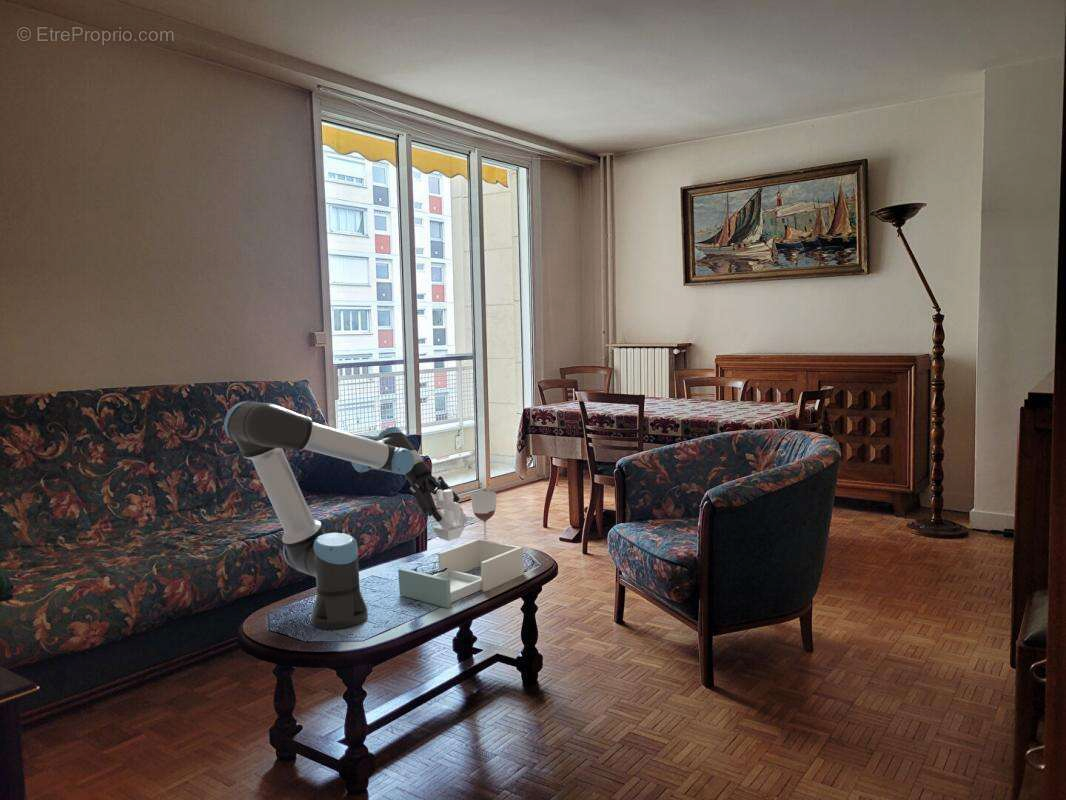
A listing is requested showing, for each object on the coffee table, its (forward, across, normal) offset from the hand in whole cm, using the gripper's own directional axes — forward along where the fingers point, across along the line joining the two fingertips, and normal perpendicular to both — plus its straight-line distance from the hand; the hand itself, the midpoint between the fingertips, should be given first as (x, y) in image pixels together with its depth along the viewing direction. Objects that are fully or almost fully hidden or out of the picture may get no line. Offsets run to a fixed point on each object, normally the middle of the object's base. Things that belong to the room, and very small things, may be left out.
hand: (457, 525), depth 233 cm
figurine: (+1, 0, -6) cm, 6 cm away
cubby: (+13, -14, -17) cm, 25 cm away
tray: (+12, +2, -17) cm, 21 cm away
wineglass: (+4, -34, -26) cm, 43 cm away
